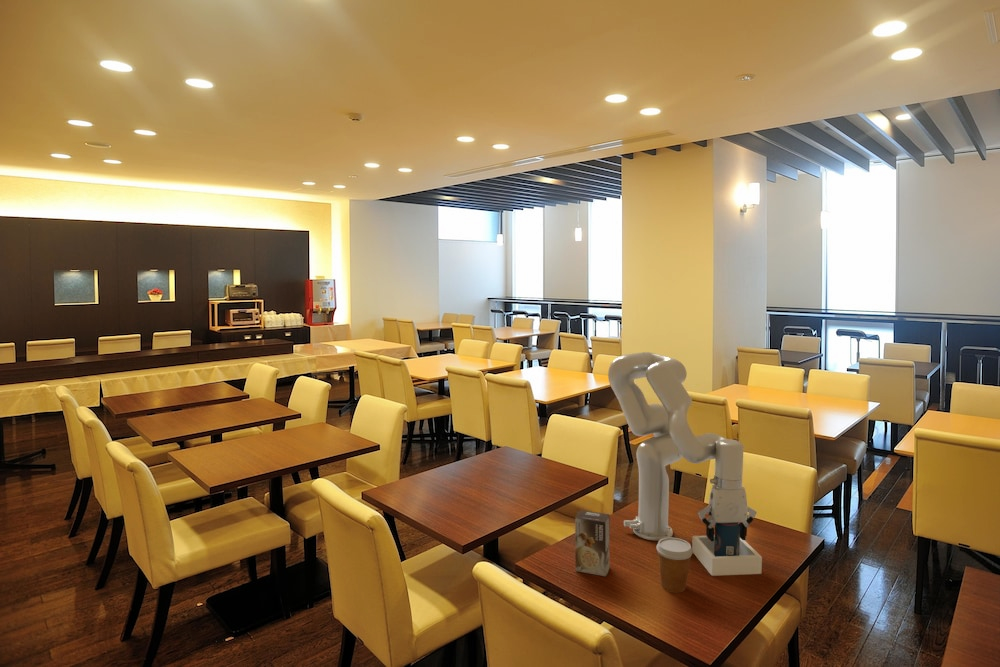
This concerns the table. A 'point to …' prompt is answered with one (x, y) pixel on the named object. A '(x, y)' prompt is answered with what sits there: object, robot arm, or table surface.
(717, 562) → the walled box
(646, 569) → the table surface
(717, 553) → the soda can
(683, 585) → the disposable coffee cup
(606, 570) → the coffee box
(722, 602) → the table surface
